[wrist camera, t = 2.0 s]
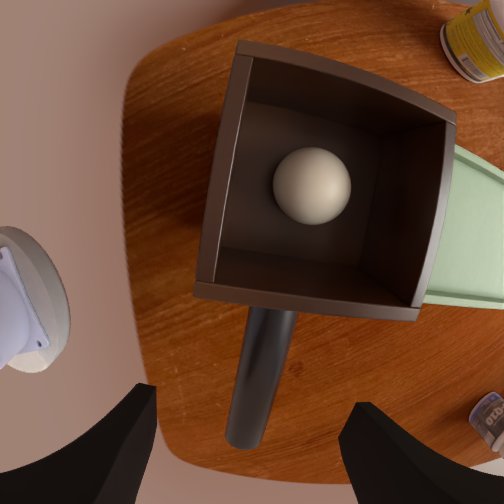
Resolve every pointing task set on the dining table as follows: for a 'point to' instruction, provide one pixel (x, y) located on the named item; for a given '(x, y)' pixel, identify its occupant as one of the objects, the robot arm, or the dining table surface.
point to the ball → (312, 186)
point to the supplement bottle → (476, 41)
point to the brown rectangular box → (323, 235)
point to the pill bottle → (490, 421)
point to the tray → (471, 238)
